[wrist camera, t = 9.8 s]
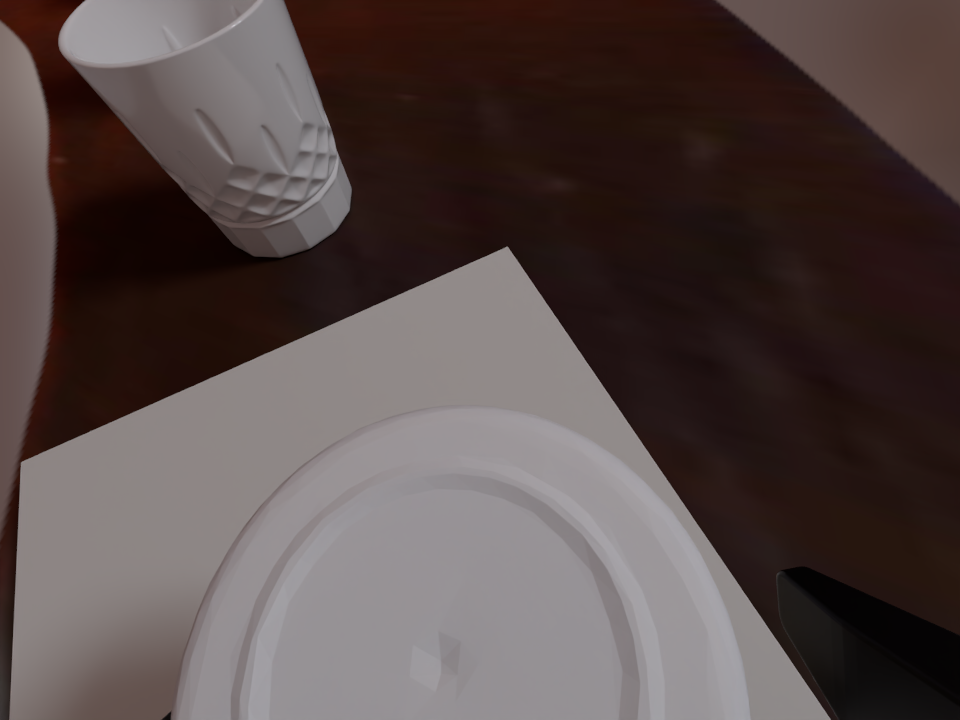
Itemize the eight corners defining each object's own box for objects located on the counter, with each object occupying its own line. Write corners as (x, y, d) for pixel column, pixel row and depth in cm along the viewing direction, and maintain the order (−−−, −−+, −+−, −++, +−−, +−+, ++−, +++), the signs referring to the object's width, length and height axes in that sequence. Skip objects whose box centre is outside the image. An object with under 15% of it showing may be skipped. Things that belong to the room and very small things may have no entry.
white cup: (314, 284, 24) (179, 78, 15) (188, 250, 26) (10, 54, 18) (389, 172, 27) (312, -49, 19) (272, 151, 30) (156, -55, 21)
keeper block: (873, 827, 13) (923, 855, 11) (71, 1337, 10) (-26, 1472, 9) (511, 278, 23) (507, 246, 21) (66, 478, 20) (20, 462, 19)
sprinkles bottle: (638, 675, 15) (941, 760, 3) (514, 791, 14) (298, 1522, 2) (537, 543, 17) (496, 307, 5) (424, 637, 16) (73, 597, 4)
